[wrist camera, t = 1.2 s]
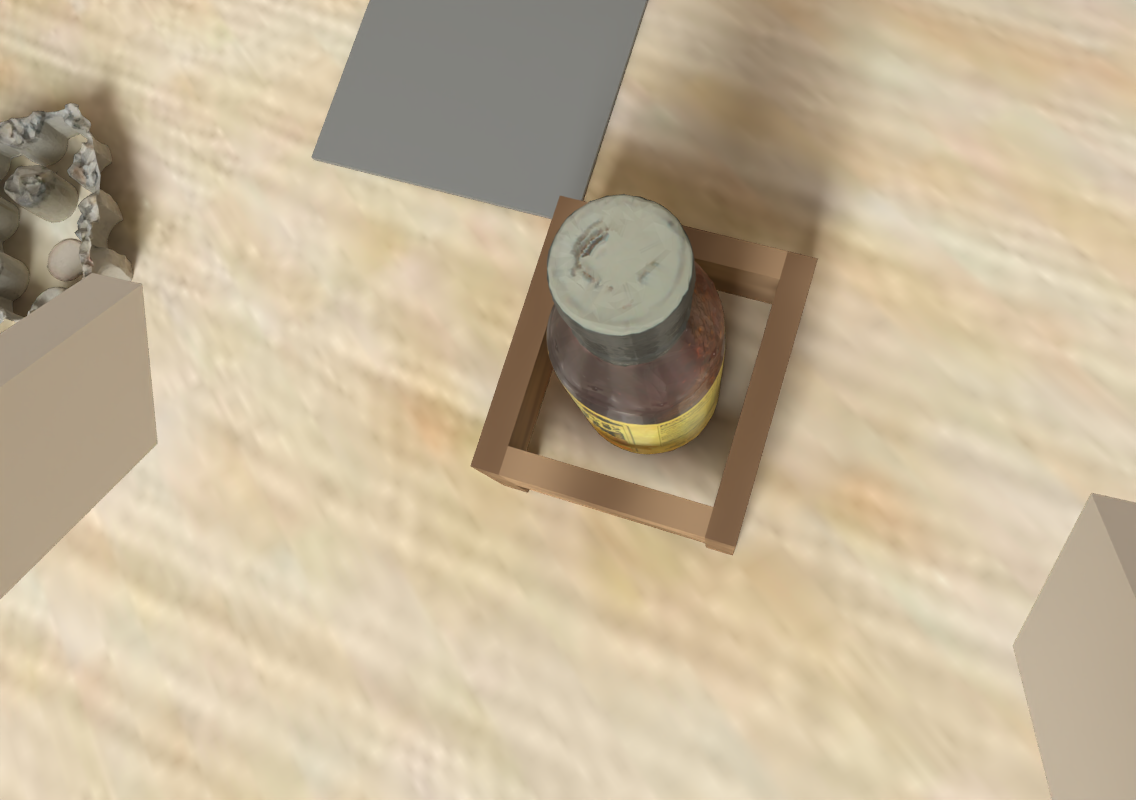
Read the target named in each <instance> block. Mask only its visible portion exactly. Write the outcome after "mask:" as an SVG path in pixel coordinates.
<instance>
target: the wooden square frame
mask: <svg viewBox="0 0 1136 800" xmlns="http://www.w3.org/2000/svg"><path fill="white" fill-rule="evenodd" d="M587 203H588V202H585V201H581V200H577V199H572V198H568V197H564V196H559V199H558V202H557V205H556V208H555V211H554V215H553V218H552V221H551V224H550V227H549V230H548V233H547V236H546V239H545V242H544V245H543V248H542V251H541V254H540V257H539V260H538V263H537V266H536V269H535V272H534V275H533V278H532V281H531V284H530V287H529V290H528V293H527V296H526V299H525V303H524V306H523V309H522V312H521V315H520V318H519V321H518V324H517V327H516V330H515V333H514V336H513V339H512V342H511V345H510V348H509V351H508V354H507V357H506V360H505V363H504V366H503V369H502V372H501V375H500V378H499V381H498V384H497V388H496V391H495V394H494V397H493V400H492V403H491V406H490V409H489V412H488V415H487V418H486V421H485V424H484V427H483V430H482V433H481V436H480V439H479V442H478V445H477V448H476V451H475V454H474V457H473V460H472V463H471V467H473V468H475V469H476V470H478V471H480V472H482V473H483V474H485V475H487V476H489V477H490V478H492V479H494V480H496V481H497V482H499V483H501V484H503V485H505V486H508V487H511V488H515V489H518V490H521V491H524V492H528V491H529V489H530V490H533V491H537V492H540V493H543V494H546V495H550V496H553V497H556V498H560V499H563V500H566V501H569V502H573V503H576V504H579V505H582V506H586V507H589V508H592V509H596V510H599V511H602V512H605V513H609V514H612V515H615V516H618V517H622V518H625V519H628V520H631V521H635V522H638V523H641V524H645V525H648V526H651V527H654V528H658V529H661V530H664V531H667V532H671V533H674V534H677V535H680V536H684V537H687V538H690V539H694V540H697V541H700V542H703V543H706V547H707V548H710V549H713V550H717V551H720V552H723V553H726V554H730V555H733V553H734V550H735V547H736V544H737V540H738V537H739V533H740V530H741V526H742V523H743V519H744V516H745V512H746V509H747V505H748V502H749V498H750V495H751V491H752V488H753V484H754V481H755V477H756V474H757V470H758V467H759V463H760V460H761V456H762V453H763V449H764V446H765V442H766V438H767V435H768V431H769V428H770V424H771V421H772V417H773V414H774V410H775V407H776V403H777V400H778V396H779V393H780V389H781V386H782V382H783V379H784V375H785V372H786V368H787V365H788V361H789V358H790V354H791V351H792V347H793V344H794V340H795V337H796V333H797V330H798V326H799V323H800V319H801V316H802V312H803V309H804V305H805V302H806V298H807V295H808V291H809V288H810V284H811V281H812V277H813V274H814V270H815V267H816V263H817V260H818V259H817V258H813V257H809V256H805V255H801V254H797V253H793V252H789V251H785V250H781V249H776V248H772V247H768V246H764V245H760V244H756V243H752V242H748V241H744V240H740V239H736V238H732V237H727V236H723V235H719V234H715V233H711V232H707V231H703V230H699V229H695V228H691V227H687V226H683V225H682V227H683V228H684V230H685V232H686V234H687V235H688V237H689V240H690V243H691V245H692V249H693V255H694V261H695V262H696V263H697V264H698V265H699V266H700V267H701V268H702V269H703V271H704V272H705V273H706V274H707V275H708V277H709V278H710V279H711V280H712V281H713V282H714V285H715V288H716V290H718V291H722V292H726V293H730V294H734V295H738V296H742V297H746V298H750V299H754V300H758V301H761V302H765V303H769V304H772V307H771V311H770V314H769V318H768V321H767V325H766V328H765V332H764V335H763V338H762V342H761V345H760V349H759V352H758V356H757V359H756V363H755V366H754V369H753V373H752V376H751V380H750V383H749V387H748V390H747V394H746V397H745V400H744V404H743V407H742V411H741V414H740V418H739V421H738V425H737V428H736V431H735V435H734V438H733V442H732V445H731V449H730V452H729V456H728V459H727V463H726V466H725V469H724V473H723V476H722V480H721V483H720V487H719V490H718V494H717V497H716V500H715V504H714V507H711V506H707V505H704V504H701V503H697V502H694V501H691V500H687V499H684V498H681V497H677V496H674V495H671V494H667V493H664V492H661V491H657V490H654V489H651V488H647V487H644V486H640V485H637V484H634V483H630V482H627V481H624V480H620V479H617V478H614V477H610V476H607V475H604V474H600V473H597V472H594V471H590V470H587V469H584V468H580V467H577V466H573V465H570V464H567V463H563V462H560V461H557V460H553V459H550V458H547V457H543V456H540V455H537V454H533V453H530V452H527V448H528V445H529V442H530V438H531V435H532V432H533V429H534V426H535V423H536V420H537V417H538V414H539V411H540V407H541V404H542V401H543V398H544V395H545V392H546V389H547V386H548V383H549V379H550V376H551V373H552V370H553V366H552V364H551V361H550V358H549V354H548V348H547V324H548V319H549V315H550V312H551V310H552V307H553V305H554V302H553V300H552V295H551V293H550V290H549V286H548V282H547V257H548V251H549V248H550V246H551V244H552V242H553V239H554V237H555V235H556V233H557V232H558V230H559V229H560V227H561V225H562V224H563V222H564V221H565V220H566V218H567V217H568V216H569V215H571V214H572V213H573V212H574V211H575V210H577V209H579V208H581V207H582V206H584V205H585V204H587Z"/></svg>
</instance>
